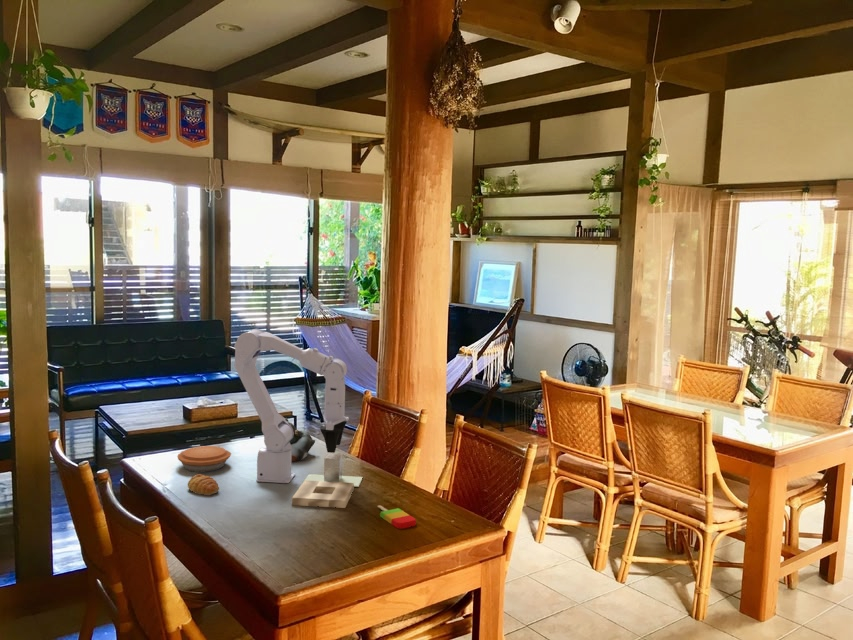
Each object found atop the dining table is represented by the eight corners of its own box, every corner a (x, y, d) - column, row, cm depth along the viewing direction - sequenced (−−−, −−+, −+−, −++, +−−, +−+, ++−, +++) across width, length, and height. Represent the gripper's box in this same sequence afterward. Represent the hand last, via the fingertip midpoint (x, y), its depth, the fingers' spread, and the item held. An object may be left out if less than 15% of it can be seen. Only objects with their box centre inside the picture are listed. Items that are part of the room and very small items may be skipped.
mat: (302, 484, 202) (302, 483, 202) (308, 475, 210) (308, 474, 210) (358, 487, 201) (358, 486, 201) (362, 478, 209) (362, 476, 209)
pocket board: (292, 505, 186) (292, 497, 186) (304, 487, 200) (304, 480, 200) (345, 508, 185) (345, 500, 185) (353, 489, 199) (353, 482, 199)
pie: (201, 477, 205) (201, 461, 205) (166, 467, 214) (166, 451, 213) (241, 465, 218) (241, 449, 218) (207, 455, 227) (207, 440, 226)
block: (323, 482, 204) (324, 458, 203) (327, 477, 208) (327, 453, 207) (339, 482, 203) (339, 459, 203) (342, 477, 208) (342, 454, 207)
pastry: (225, 492, 195) (225, 479, 194) (203, 499, 189) (203, 485, 189) (206, 484, 201) (206, 471, 200) (184, 490, 195) (184, 476, 195)
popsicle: (398, 531, 173) (399, 523, 173) (369, 510, 185) (369, 503, 185) (417, 527, 176) (418, 519, 176) (387, 507, 188) (387, 500, 188)
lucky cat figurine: (300, 464, 220) (278, 427, 217) (271, 473, 225) (249, 436, 222) (322, 439, 233) (301, 403, 230) (294, 448, 238) (273, 413, 235)
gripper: (344, 408, 196) (343, 456, 197) (352, 397, 210) (351, 442, 212) (318, 407, 196) (317, 455, 198) (329, 396, 211) (328, 441, 212)
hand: (333, 448), depth 205 cm, fingers open, 7 cm apart
